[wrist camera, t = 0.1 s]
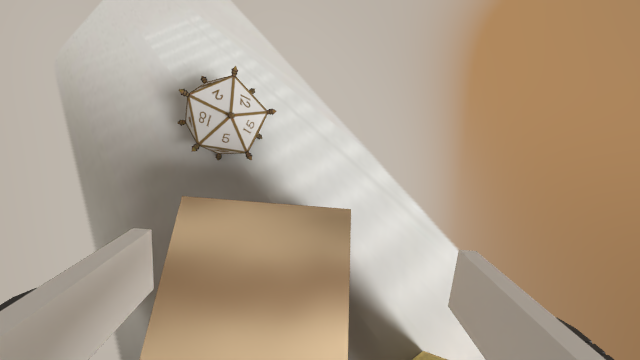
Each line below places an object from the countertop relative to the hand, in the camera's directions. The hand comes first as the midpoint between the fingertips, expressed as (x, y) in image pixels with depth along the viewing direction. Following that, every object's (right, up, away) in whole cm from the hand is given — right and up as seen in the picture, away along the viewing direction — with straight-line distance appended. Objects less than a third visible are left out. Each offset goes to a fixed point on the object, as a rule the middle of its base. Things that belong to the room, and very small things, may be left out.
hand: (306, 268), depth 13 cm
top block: (-3, -4, +8) cm, 10 cm away
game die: (-9, +8, +20) cm, 23 cm away
